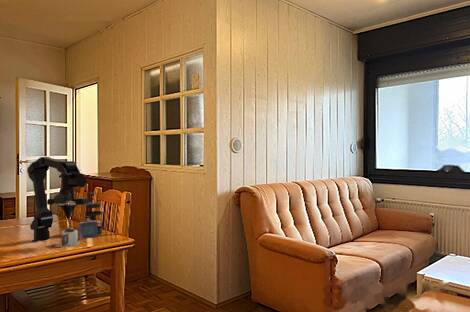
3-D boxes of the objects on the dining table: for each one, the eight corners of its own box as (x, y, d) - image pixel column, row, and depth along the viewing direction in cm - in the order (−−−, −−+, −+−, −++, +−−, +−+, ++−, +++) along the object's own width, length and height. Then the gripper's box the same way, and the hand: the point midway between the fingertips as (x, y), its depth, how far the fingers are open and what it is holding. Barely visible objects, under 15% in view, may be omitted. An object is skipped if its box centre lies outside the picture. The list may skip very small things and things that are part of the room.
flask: (79, 240, 184) (79, 219, 184) (78, 239, 187) (78, 218, 187) (98, 238, 189) (97, 217, 189) (97, 237, 191) (96, 217, 191)
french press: (83, 236, 193) (83, 193, 193) (82, 233, 202) (81, 192, 201) (106, 233, 199) (106, 192, 199) (104, 230, 207) (103, 191, 207)
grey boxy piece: (55, 246, 169) (55, 233, 169) (67, 242, 178) (66, 229, 178) (69, 247, 168) (69, 233, 168) (80, 242, 177) (79, 229, 177)
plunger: (63, 241, 172) (63, 228, 172) (68, 239, 176) (67, 227, 176) (71, 241, 172) (70, 228, 172) (75, 239, 176) (75, 227, 176)
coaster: (53, 247, 170) (53, 246, 170) (66, 242, 180) (65, 241, 180) (73, 248, 169) (73, 246, 169) (84, 242, 179) (84, 241, 179)
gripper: (39, 188, 167) (39, 221, 167) (76, 188, 165) (77, 222, 165) (53, 186, 178) (54, 217, 179) (89, 186, 176) (89, 217, 176)
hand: (68, 218), depth 174 cm, fingers closed
